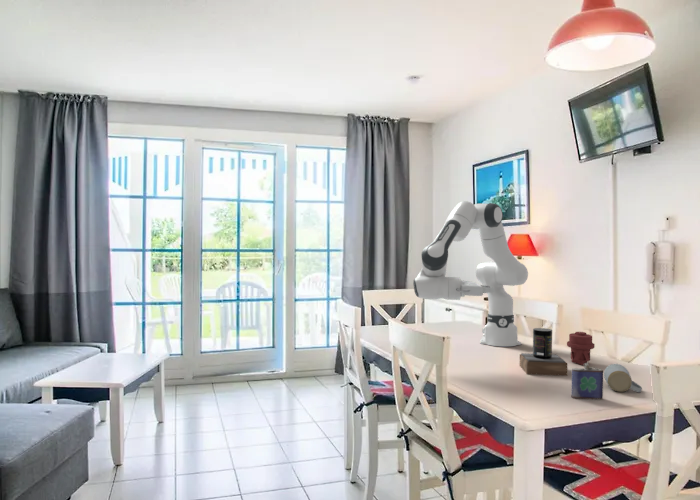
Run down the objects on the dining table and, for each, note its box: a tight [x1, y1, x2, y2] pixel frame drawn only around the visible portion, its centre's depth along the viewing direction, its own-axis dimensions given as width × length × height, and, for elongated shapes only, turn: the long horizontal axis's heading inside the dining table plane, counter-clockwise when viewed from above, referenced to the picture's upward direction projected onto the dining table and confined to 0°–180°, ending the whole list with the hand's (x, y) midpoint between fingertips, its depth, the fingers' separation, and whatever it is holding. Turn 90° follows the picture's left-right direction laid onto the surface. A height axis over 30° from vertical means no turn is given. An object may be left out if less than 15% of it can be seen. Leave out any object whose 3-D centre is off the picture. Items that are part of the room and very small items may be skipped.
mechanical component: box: [566, 331, 596, 366], centre depth 200 cm, size 12×10×10 cm
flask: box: [570, 362, 604, 401], centre depth 155 cm, size 9×3×11 cm, turn 84°
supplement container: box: [532, 327, 553, 359], centre depth 189 cm, size 7×7×10 cm
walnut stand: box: [519, 352, 568, 377], centre depth 189 cm, size 13×14×5 cm
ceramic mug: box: [603, 363, 643, 393], centre depth 164 cm, size 11×8×8 cm
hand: (491, 288), depth 195 cm, fingers open, 8 cm apart
